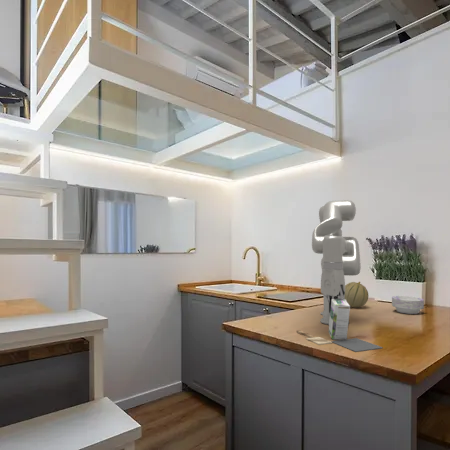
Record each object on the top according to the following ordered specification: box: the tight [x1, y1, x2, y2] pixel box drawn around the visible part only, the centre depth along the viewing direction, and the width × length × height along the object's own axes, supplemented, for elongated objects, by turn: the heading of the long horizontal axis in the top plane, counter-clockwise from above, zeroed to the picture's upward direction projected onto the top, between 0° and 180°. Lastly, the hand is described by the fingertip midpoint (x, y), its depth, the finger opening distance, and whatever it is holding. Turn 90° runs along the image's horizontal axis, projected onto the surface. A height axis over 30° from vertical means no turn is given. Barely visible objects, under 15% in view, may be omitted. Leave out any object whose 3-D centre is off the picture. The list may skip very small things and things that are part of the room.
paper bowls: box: [391, 295, 425, 315], centre depth 185 cm, size 15×15×8 cm
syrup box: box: [328, 299, 351, 341], centre depth 132 cm, size 6×6×14 cm
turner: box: [296, 330, 333, 346], centre depth 134 cm, size 18×6×1 cm, turn 21°
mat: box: [330, 337, 383, 353], centre depth 125 cm, size 13×12×1 cm
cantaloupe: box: [345, 281, 369, 309], centre depth 200 cm, size 15×15×15 cm
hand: (333, 313), depth 136 cm, fingers closed
